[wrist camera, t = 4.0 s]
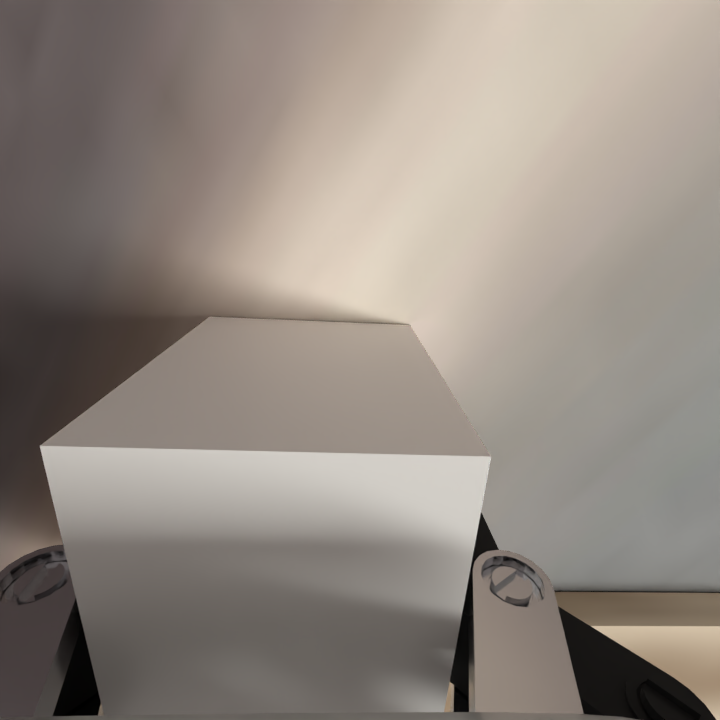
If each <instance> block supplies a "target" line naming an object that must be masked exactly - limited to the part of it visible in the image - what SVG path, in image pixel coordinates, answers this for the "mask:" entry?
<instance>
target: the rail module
mask: <svg viewBox="0 0 720 720" xmlns="http://www.w3.org/2000/svg"><path fill="white" fill-rule="evenodd" d="M40 449H41V454H42V458H43V462H44V466H45V470H46V475H47V479H48V483H49V487H50V491H51V495H52V500H53V504H54V508H55V512H56V516H57V521H58V525H59V529H60V533H61V537H62V542H63V546H64V550H65V554H66V558H67V562H68V567H69V571H70V575H71V579H72V583H73V588H74V592H75V596H76V600H77V604H78V609H79V613H80V617H81V621H82V625H83V629H84V634H85V638H86V642H87V646H88V650H89V655H90V659H91V663H92V667H93V671H94V676H95V680H96V684H97V688H98V692H99V696H100V701H101V705H102V709H103V713H104V715H168V714H256V713H385V712H444V709H445V704H446V698H447V693H448V687H449V682H450V677H451V671H452V666H453V660H454V655H455V650H456V644H457V639H458V633H459V628H460V622H461V617H462V612H463V606H464V601H465V595H466V590H467V585H468V579H469V574H470V568H471V563H472V558H473V552H474V547H475V541H476V536H477V531H478V525H479V520H480V514H481V509H482V504H483V498H484V493H485V487H486V482H487V477H488V471H489V466H490V460H491V455H490V454H489V452H488V451H487V449H486V447H485V446H484V444H483V442H482V441H481V439H480V438H479V436H478V434H477V433H476V431H475V429H474V428H473V426H472V425H471V423H470V421H469V420H468V418H467V416H466V415H465V413H464V412H463V410H462V408H461V407H460V405H459V403H458V402H457V400H456V399H455V397H454V395H453V394H452V392H451V391H450V389H449V387H448V386H447V384H446V382H445V381H444V379H443V378H442V376H441V374H440V373H439V371H438V369H437V368H436V366H435V365H434V363H433V361H432V360H431V358H430V356H429V355H428V353H427V352H426V350H425V348H424V347H423V345H422V343H421V342H420V340H419V339H418V337H417V335H416V334H415V332H414V330H413V329H412V327H411V326H410V325H401V324H377V323H352V322H328V321H304V320H280V319H256V318H232V317H208V318H207V319H206V320H204V321H203V322H202V323H201V324H199V325H198V326H197V327H195V328H194V329H193V330H191V331H190V332H189V333H187V334H186V335H185V336H183V337H182V338H181V339H179V340H178V341H177V342H176V343H174V344H173V345H172V346H170V347H169V348H168V349H166V350H165V351H164V352H162V353H161V354H160V355H158V356H157V357H156V358H154V359H153V360H152V361H151V362H149V363H148V364H147V365H145V366H144V367H143V368H141V369H140V370H139V371H137V372H136V373H135V374H133V375H132V376H131V377H130V378H128V379H127V380H126V381H124V382H123V383H122V384H120V385H119V386H118V387H116V388H115V389H114V390H112V391H111V392H110V393H108V394H107V395H106V396H105V397H103V398H102V399H101V400H99V401H98V402H97V403H95V404H94V405H93V406H91V407H90V408H89V409H87V410H86V411H85V412H84V413H82V414H81V415H80V416H78V417H77V418H76V419H74V420H73V421H72V422H70V423H69V424H68V425H66V426H65V427H64V428H62V429H61V430H60V431H59V432H57V433H56V434H55V435H53V436H52V437H51V438H49V439H48V440H47V441H45V442H44V443H43V444H41V445H40Z"/></svg>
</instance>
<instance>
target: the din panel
mask: <svg viewBox="0 0 720 720" xmlns="http://www.w3.org/2000/svg"><path fill="white" fill-rule="evenodd" d="M555 596H556V601H557V605H558V606H559V607H560V608H562V609H564V610H565V611H567V612H568V613H570V614H572V615H573V616H575V617H577V618H578V619H580V620H581V621H583V622H585V623H586V624H588V625H590V626H591V627H593V628H594V629H596V630H598V631H599V632H601V633H602V634H604V635H606V636H607V637H609V638H611V639H612V640H614V641H615V642H617V643H619V644H620V645H622V646H624V647H625V648H627V649H628V650H630V651H632V652H633V653H635V654H636V655H638V656H640V657H641V658H643V659H645V660H646V661H648V662H649V663H651V664H653V665H654V666H656V667H658V668H659V669H661V670H662V671H664V672H666V673H667V674H669V675H670V676H672V677H674V678H675V679H676V680H678V681H679V682H680V683H682V684H683V685H685V686H686V687H687V688H689V689H690V690H691V691H692V692H693V693H694V694H695V695H696V696H697V697H698V698H699V699H700V700H701V701H702V702H703V703H704V704H705V705H706V706H707V708H708V709H709V710H710V712H711V713H712V714H713V716H714V717H715V719H716V720H720V593H646V592H555ZM450 701H451V682H449V687H448V693H447V698H446V704H445V709H444V712H450Z"/></svg>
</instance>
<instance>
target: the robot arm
mask: <svg viewBox="0 0 720 720" xmlns="http://www.w3.org/2000/svg"><path fill="white" fill-rule="evenodd" d="M450 682H451V701H450V712H385V713H256V714H168V715H104V713H103V709H102V705H101V701H100V696H99V692H98V688H97V684H96V680H95V676H94V671H93V667H92V663H91V659H90V655H89V650H88V646H87V642H86V638H85V634H84V629H83V625H82V621H81V617H80V613H79V609H78V604H77V600H76V596H75V592H74V588H73V583H72V579H71V575H70V571H69V567H68V562H67V558H66V554H65V550H64V546H63V545H57V546H51V547H47V548H43V549H39V550H37V551H34V552H32V553H29V554H27V555H25V556H23V557H21V558H19V559H18V560H16V561H14V562H13V563H11V564H9V565H8V566H7V567H6V568H4V569H3V570H2V571H1V572H0V720H716V719H715V717H714V716H713V714H712V713H711V712H710V710H709V709H708V708H707V706H706V705H705V704H704V703H703V702H702V701H701V700H700V699H699V698H698V697H697V696H696V695H695V694H694V693H693V692H692V691H691V690H690V689H689V688H687V687H686V686H685V685H683V684H682V683H680V682H679V681H678V680H676V679H675V678H674V677H672V676H670V675H669V674H667V673H666V672H664V671H662V670H661V669H659V668H658V667H656V666H654V665H653V664H651V663H649V662H648V661H646V660H645V659H643V658H641V657H640V656H638V655H636V654H635V653H633V652H632V651H630V650H628V649H627V648H625V647H624V646H622V645H620V644H619V643H617V642H615V641H614V640H612V639H611V638H609V637H607V636H606V635H604V634H602V633H601V632H599V631H598V630H596V629H594V628H593V627H591V626H590V625H588V624H586V623H585V622H583V621H581V620H580V619H578V618H577V617H575V616H573V615H572V614H570V613H568V612H567V611H565V610H564V609H562V608H560V607H559V606H558V605H557V601H556V596H555V592H554V588H553V586H552V584H551V581H550V579H549V578H548V576H547V575H546V574H545V573H544V571H543V570H542V569H541V568H540V567H539V566H537V565H536V564H535V563H534V562H532V561H531V560H529V559H527V558H525V557H524V556H522V555H520V554H517V553H513V552H510V551H504V550H499V549H498V547H497V545H496V543H495V541H494V539H493V536H492V534H491V532H490V530H489V528H488V526H487V524H486V521H485V519H484V517H483V515H482V513H481V514H480V520H479V525H478V531H477V536H476V541H475V547H474V552H473V558H472V563H471V568H470V574H469V579H468V585H467V590H466V595H465V601H464V606H463V612H462V617H461V622H460V628H459V633H458V639H457V644H456V650H455V655H454V660H453V666H452V671H451V677H450Z"/></svg>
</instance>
